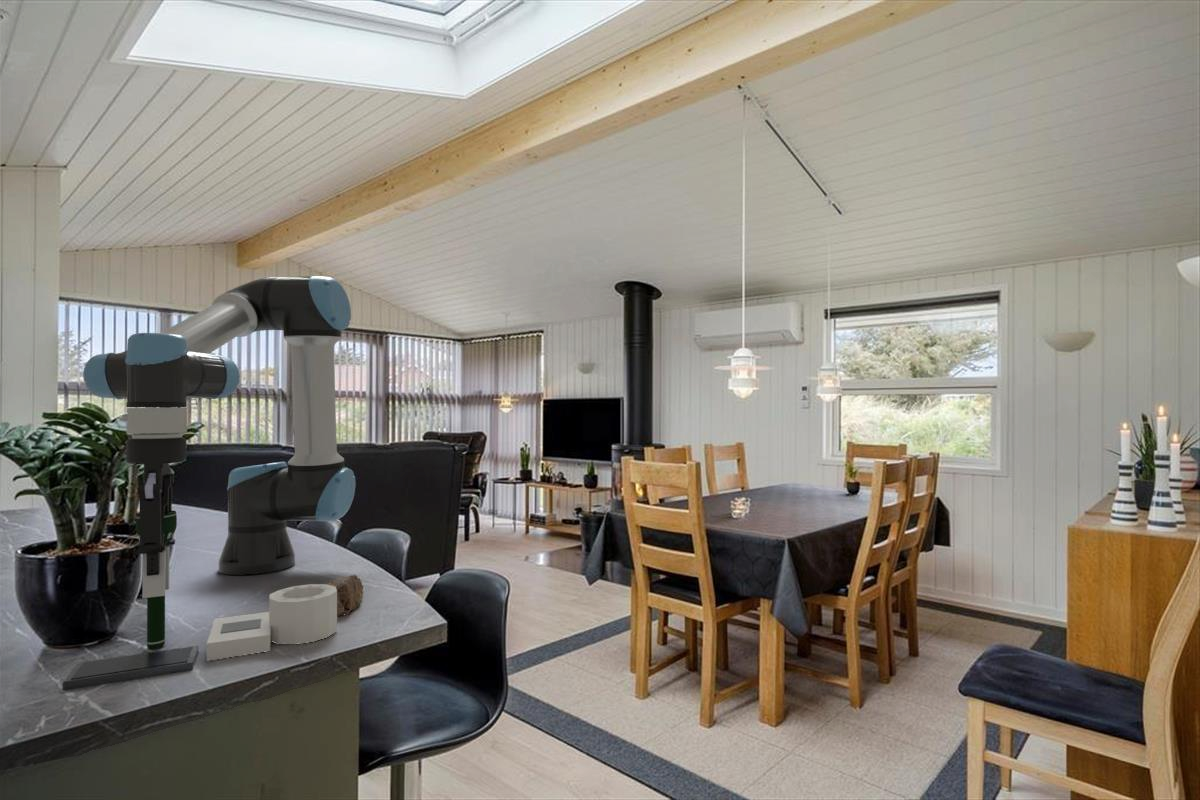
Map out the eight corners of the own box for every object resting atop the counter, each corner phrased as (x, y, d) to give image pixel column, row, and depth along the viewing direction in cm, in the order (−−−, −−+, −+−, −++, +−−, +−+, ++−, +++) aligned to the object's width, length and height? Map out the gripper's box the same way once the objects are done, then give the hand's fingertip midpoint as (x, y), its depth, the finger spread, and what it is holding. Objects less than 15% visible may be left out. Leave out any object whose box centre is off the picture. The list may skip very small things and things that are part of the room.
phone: (78, 669, 88) (78, 661, 88) (198, 652, 94) (198, 644, 94) (62, 689, 82) (62, 681, 82) (192, 669, 88) (192, 661, 88)
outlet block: (214, 634, 102) (214, 593, 102) (333, 618, 109) (333, 579, 109) (206, 661, 91) (206, 615, 91) (339, 641, 98) (339, 598, 99)
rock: (357, 617, 110) (357, 584, 110) (291, 623, 108) (291, 588, 108) (364, 592, 125) (364, 563, 125) (306, 597, 122) (307, 566, 122)
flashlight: (132, 646, 96) (132, 513, 97) (172, 638, 100) (172, 509, 100) (138, 656, 93) (139, 517, 93) (179, 646, 96) (180, 512, 97)
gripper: (137, 435, 102) (136, 583, 102) (113, 439, 88) (112, 611, 88) (192, 434, 106) (192, 577, 105) (178, 438, 91) (178, 604, 91)
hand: (156, 592), depth 97 cm, fingers open, 3 cm apart
